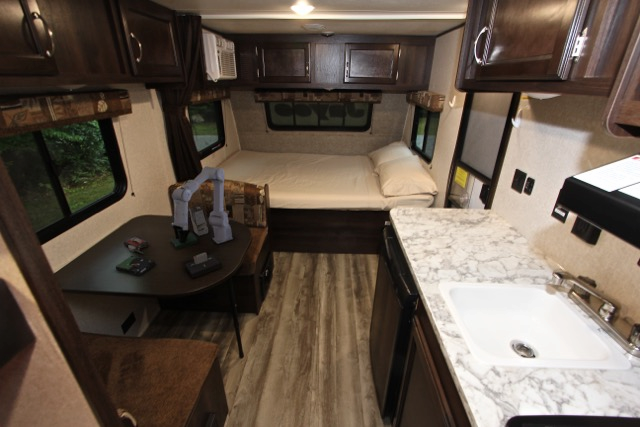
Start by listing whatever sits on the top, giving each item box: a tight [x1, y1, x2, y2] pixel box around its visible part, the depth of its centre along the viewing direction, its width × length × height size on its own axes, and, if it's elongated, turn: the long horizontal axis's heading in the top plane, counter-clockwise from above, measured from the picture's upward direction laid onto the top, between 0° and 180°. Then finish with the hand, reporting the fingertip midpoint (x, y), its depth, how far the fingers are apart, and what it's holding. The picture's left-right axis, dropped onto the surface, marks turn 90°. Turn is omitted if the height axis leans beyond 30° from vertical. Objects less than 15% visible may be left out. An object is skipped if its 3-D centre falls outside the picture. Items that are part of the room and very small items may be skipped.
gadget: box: [184, 254, 222, 279], centre depth 148 cm, size 14×12×3 cm
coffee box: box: [188, 204, 209, 237], centre depth 179 cm, size 9×6×16 cm
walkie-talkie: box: [123, 236, 149, 255], centre depth 163 cm, size 9×4×20 cm
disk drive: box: [114, 255, 156, 276], centre depth 147 cm, size 10×3×15 cm
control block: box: [170, 232, 199, 250], centre depth 170 cm, size 12×10×4 cm
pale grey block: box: [193, 252, 208, 264], centre depth 147 cm, size 6×2×4 cm, turn 130°
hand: (180, 241), depth 142 cm, fingers open, 7 cm apart
